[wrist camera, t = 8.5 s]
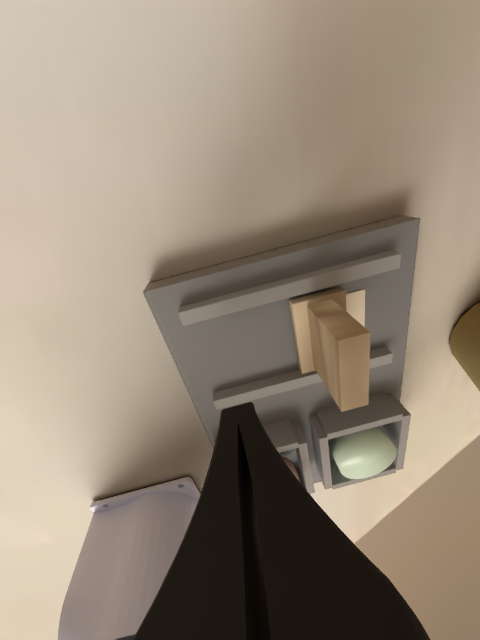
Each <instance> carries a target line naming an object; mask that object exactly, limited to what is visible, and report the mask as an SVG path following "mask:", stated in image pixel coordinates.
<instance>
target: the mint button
mask: <svg viewBox="0 0 480 640" xmlns="http://www.w3.org/2000/svg"><path fill="white" fill-rule="evenodd" d="M328 447H329V449H330V452H331V454H332V456H333V458H334V460H335V462H336V464H337V466H338V468H339V470H340V472H341V474H342V475H343V476H345V477H347V478H350V479H363V478H368V477H371V476H374V475H376V474H378V473H380V472H382V471H383V470H385V469H386V468H388V467H389V466H390V465H391V464H392V463H393V461H394V460H395V458H396V455H397V449H396V447H395V446H394V444H393V443H392V442H391V440H390V439H389V438H388V436H387V435H386V434H385V432H384V431H383V430H382V428H381V427H380V426H377V427H373V428H370V429H366V430H362V431H359V432H355V433H351V434H347V435H344V436H340V437H336V438H333V439H329V440H328Z"/></svg>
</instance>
